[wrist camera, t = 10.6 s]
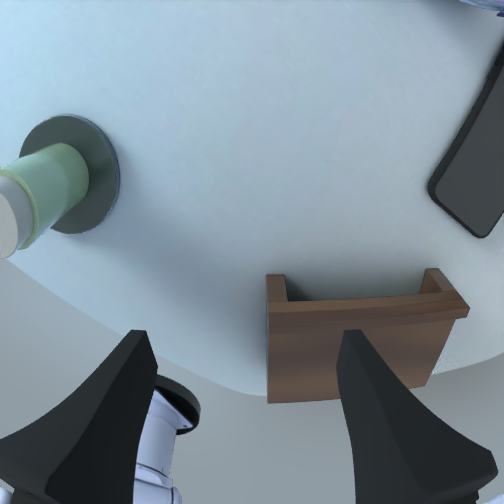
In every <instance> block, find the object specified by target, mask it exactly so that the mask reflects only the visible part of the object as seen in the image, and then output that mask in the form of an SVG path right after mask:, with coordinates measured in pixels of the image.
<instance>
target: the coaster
mask: <svg viewBox="0 0 504 504" xmlns="http://www.w3.org/2000/svg"><path fill="white" fill-rule="evenodd" d="M56 143H63V144H67V145H70V146H72V147H73V148H75V149H76V150H77V151H78V152H79V153H80V154H81V155H82V157H83V159H84V160H85V162H86V165H87V168H88V172H89V187H88V191H87V193H86V195H85V197H84V199H83V200H82V201H81V202H80V203H79V204H78V205H77V206H76V207H74V208H73V209H72V210H71V211H70V212H68V213H67V214H66V215H65V216H64V217H62V218H61V219H60V220H59V221H58V222H57V223H55V224H54V225H53V226H52V227H51V229H54V230H56V231H59V232H62V233H67V234H77V233H82V232H86V231H88V230H91V229H92V228H94V227H95V226H97V225H98V224H99V223H100V222H101V221H103V219H104V218H105V217H106V216H107V215H108V214H109V212H110V211H111V209H112V207H113V205H114V203H115V201H116V197H117V194H118V189H119V167H118V162H117V158H116V155H115V152H114V150H113V147H112V145H111V143H110V142H109V140H108V138H107V137H106V136H105V134H104V133H103V132H102V131H101V130H100V129H99V128H98V127H97V126H96V125H95V124H93V123H92V122H90V121H89V120H87V119H85V118H82V117H79V116H76V115H58V116H54V117H51V118H48V119H46V120H44V121H42V122H41V123H39V124H38V125H37V126H36V127H35V128H34V129H33V130H32V131H31V132H30V133H29V135H28V136H27V138H26V139H25V141H24V143H23V146H22V148H21V152H20V155H19V158H21V157H24V156H26V155H28V154H30V153H33V152H35V151H37V150H40V149H42V148H45V147H47V146H49V145H52V144H56Z"/></svg>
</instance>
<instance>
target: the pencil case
mask: <svg viewBox="0 0 504 504" xmlns="http://www.w3.org/2000/svg"><path fill="white" fill-rule="evenodd" d="M459 1H462V2H465V3H468V4H470V5H473V6H476V7H480V8H484V9H489V10H495V11H501V12H499V13H498V14H497V16H499V17H504V0H459Z"/></svg>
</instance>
